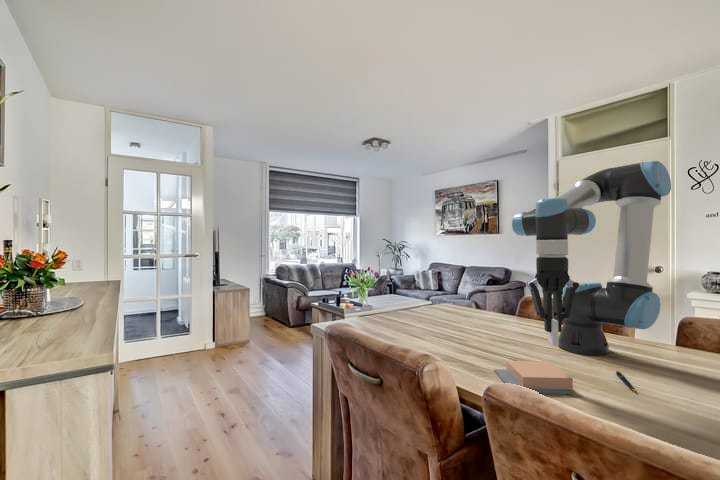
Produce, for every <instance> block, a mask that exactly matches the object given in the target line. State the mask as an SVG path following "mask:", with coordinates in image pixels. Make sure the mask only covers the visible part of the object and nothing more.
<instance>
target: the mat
mask: <svg viewBox="0 0 720 480" xmlns="http://www.w3.org/2000/svg"><path fill="white" fill-rule="evenodd" d="M493 372H494V373H495V374H496V375H497V376H498V378H499V379H500V380H501V381H502V383H504V384H505V383H511V384H516V385H519V384H518V383H517V382H516V381H515V380H514V379H513V377H512V376H511V375H510V374H509V373H508V372H507V368H506V369H504V368H503V369H501V368H499V369H497V368H496V369H495V368H494V369H493ZM532 390H535V391H537V392H539V393H541V394H540V395H565V394H569V396H571V395H572V392H571V390H547V389H532Z"/></svg>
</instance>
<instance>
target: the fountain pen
mask: <svg viewBox="0 0 720 480" xmlns="http://www.w3.org/2000/svg"><path fill="white" fill-rule="evenodd" d="M615 374H616V376H617V377H618V378H619V379H620V380H621V381H622V382H623V383H624V384H625V385H626V386H627V387H628V388H629V389H630V390H631V391H633V392H636V389H635V387H634V385H632V383H631V382H630V381H629V380H628V379H627V378H626V376H625V374H624V373H623V372H622V371H620V370H617V371H616V372H615Z"/></svg>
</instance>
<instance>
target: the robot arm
mask: <svg viewBox="0 0 720 480" xmlns="http://www.w3.org/2000/svg"><path fill="white" fill-rule="evenodd" d="M671 180H672V179H671V177H670V174H669V171H668V169H667V167H666V165H664V164H663V162H661V161H658V160H651V161H650V160H649V161H641V162H637V163H633V164H632V163H631V164H627V165H621V166H615V167H610V168H605V169H602V170H599V171H597V172H595V173H592V174H589V175H588V176H586V177H585V178H582V179H581V180H579V181H577V182H576V183H575V184H573V186H572V188H570V189H569V190H567V191H565V192H563V193H561V194H560V195H558V196H556V197H554V198H553V197H552V198H542V199H539V200H537V201H536V204H535V208H534V209H532V210H530V211H527V212H526V211H522V212H520V213H518V212H517V213H516V214H514V216H513V217H512V219H511V227H512V230H513V232H514V234H515V235H517V236H522V237H523V236H525V237H532V236H533V237H534V236H535V237H536V238H535V249H536V250H535V255H537V257H536V258H535V259H536V260H535V261H536V262H535V263H536V264H535V265H536V267H535V268H536V273H535V275H534V279H531V281H526V283H525V284H526V286H527V288H528V289H529V291H530V294H531V297H532V302H533V304H534V305H533V306H534V309H535V314H536V315H537V316H538V317H539V318H542V319H543V320H544V323H543V325H544V331H545V332H547V343H548V344H549V345H551V346H557V347H559V348H560V349H562V350H563V351H566V352H571V353H576V354H580V355H588V356H589V355H590V356H603V355H607V354H609V352H610V346H609V342H608V340H607V338H606V335H605V332H604V330H603V324H608V325H614V326H619V327H624V328H627V329H635V330H636V329H637V330H647V329H649V328H651V327H653V325H654V324H655V323H656V322H657V320H658V318H659V315H660V311H661V302H660V301H661V299H660V296H659V294H657V293H655V292H653V291H654V290H653V285H651V284H650V283H649V282H648V273H649V265H650V263H649V262H650V252H651V243H652V231H653V223H654V221H653V220H654V211H655V208H657V206H659V205H660V204H661V203H662V197H666V196H668V195H669V194H670V192H671V190H672V181H671ZM614 201H615V204H616V205H617V206H618V207H619V208H620V210H619V219H618V229H617V236H616V237H617V238H616V247H615V256H614V266H613V267H614V268H613V276H612V278H611V279H609V280H607V281H606V286H605V287H603V285H602V283H601V282H580V283H579V282H577V281H574V280H572V279H571V277H570V275H569V258H568V257H566V256H568V255H569V242H568V241H569V239H568V236H569V235H575V236H578V235H580V236H582V235H585V234H590V233H591V232H592V231H593V229H594V228H595V226H596V222H597V219H596V216H595V214H594V213H593V212H592V210H589V209H587V208H584V207H590V206H594V205H596V204H598V203H603V202H614ZM539 286H540V287H541V291H542V295H543V296H542V298H541V294H540V291H539V288H538V287H539ZM542 299H543V302H542Z"/></svg>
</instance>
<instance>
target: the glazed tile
mask: <svg viewBox="0 0 720 480" xmlns="http://www.w3.org/2000/svg"><path fill="white" fill-rule="evenodd" d="M506 370H507V372H508V373H509V374H510V375H511V376H512V377H513V379H514V380H515V381H516V382H517V383H518V384H519V385H520V386H523V387H526V388H529V389H547V390H569V391H573V390H574V388H573V387H574V386H573V385H574V383H573V377H572V376H570V375H569V374H568V373H567V372H565V371H563V369H561V368H559V367H558V366H556V365H555V364H554V363H552V362H551V361H533V360H532V361H529V360H524V361H523V360H506Z"/></svg>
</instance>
